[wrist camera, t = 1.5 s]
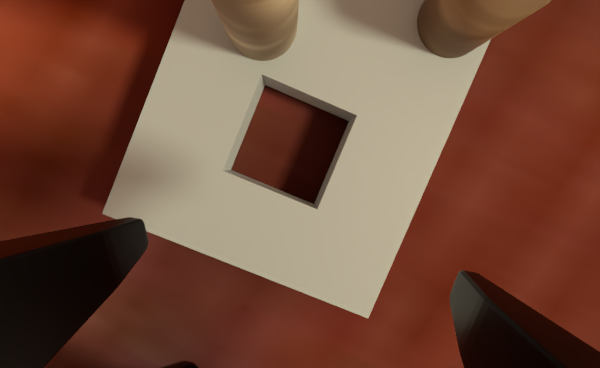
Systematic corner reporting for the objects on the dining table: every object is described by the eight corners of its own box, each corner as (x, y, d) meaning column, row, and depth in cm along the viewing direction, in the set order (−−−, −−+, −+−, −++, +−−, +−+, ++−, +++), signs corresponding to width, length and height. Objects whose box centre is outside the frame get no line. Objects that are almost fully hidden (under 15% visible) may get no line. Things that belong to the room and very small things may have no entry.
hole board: (359, 300, 22) (368, 318, 19) (124, 207, 21) (102, 213, 18) (478, 27, 21) (504, 8, 18) (238, -84, 20) (230, -120, 17)
